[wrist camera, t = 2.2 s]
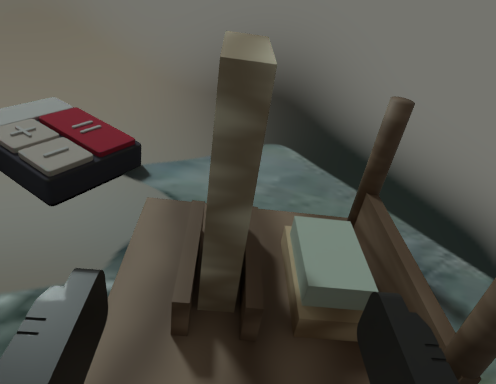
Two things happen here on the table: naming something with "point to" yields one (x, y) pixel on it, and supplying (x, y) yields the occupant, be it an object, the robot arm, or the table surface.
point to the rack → (265, 298)
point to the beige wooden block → (234, 163)
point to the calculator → (62, 150)
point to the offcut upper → (330, 264)
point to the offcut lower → (315, 318)
